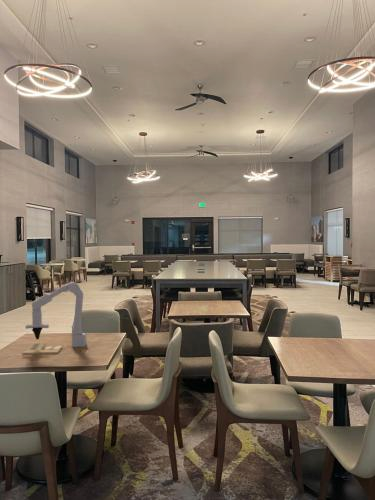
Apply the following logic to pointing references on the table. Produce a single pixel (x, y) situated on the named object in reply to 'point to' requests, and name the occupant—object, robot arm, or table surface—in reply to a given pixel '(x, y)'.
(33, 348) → the plank
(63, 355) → the table surface
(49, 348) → the plank
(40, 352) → the floor base
